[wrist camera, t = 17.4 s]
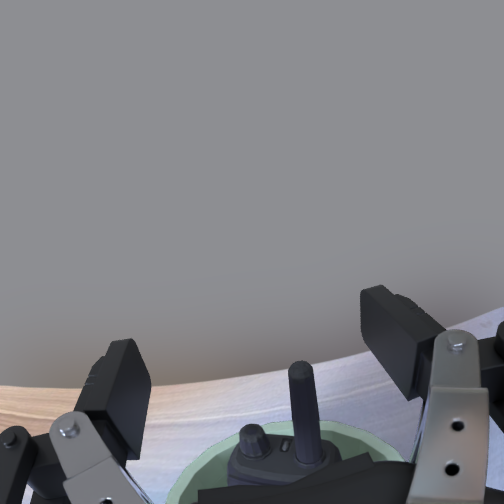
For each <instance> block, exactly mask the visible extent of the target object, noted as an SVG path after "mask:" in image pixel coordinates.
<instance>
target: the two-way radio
mask: <svg viewBox="0 0 504 504" xmlns="http://www.w3.org/2000/svg"><path fill="white" fill-rule="evenodd" d="M288 377H289V388H290V399H291V411H292V422H293V430H294V436H289V435H277V434H266V433H265V431H264V430H263V428H262V427H261V426H259V425H258V424H248V425H245V426H244V427H243V428H241V430H240V432H239V442H238V443H237V445H236V447H235V448H234V450H233V452H232V453H231V456H230V459H229V461H228V464H227V485H228V486H234V485H288V484H290V483H293V482H295V481H297V480H299V479H301V478H303V477H305V476H307V475H309V474H311V473H313V472H315V471H317V470H319V469H321V468H323V467H325V466H327V465H329V464H333V463H336V462H339V461H342V457H341V454H340V451H339V449H338V447H336V446H335V445H334V444H333V443H332V442H331V441H329V440H324V439H321V432H320V420H319V411H318V404H317V396H316V389H315V381H314V374H313V367H312V366H311V365H310V364H309V363H307V362H306V361H297V362H295V363H293V364H292V365H291V367H290V368H289V370H288Z"/></svg>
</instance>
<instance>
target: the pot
mask: <svg viewBox="0 0 504 504" xmlns="http://www.w3.org/2000/svg"><path fill="white" fill-rule="evenodd" d="M261 427H262V428H263V430H264V431H265V433H266V434H277V435H289V436H294V430H293V422H292V421H282V422H272V423H268V424H265V425H261ZM320 432H321V439H324V440H329V441H331V442H332V443H333V444H334V445H335V446H336V447H338V449H339V451H340V454H341V457H342V460H345V459H348V458H351V457H354V456H357V455H360V454H363V453H366V452H369V454H370V456H371V458H372V460H373V462H374V461H386V460H392V461H404V462H406V461H405V460H404V459H403V458H402V457H401V455H400V454H399V453H398V452H397V450H396V449H395V448H394V447H392V446H391V445H389V444H387V443H386V442H384V441H382V440H381V439H379V438H378V437H376V436H374V435H373V434H371V433H370V432H367V431H365V430H362V429H359V428H355V427H352V426H349V425H345V424H342V423H339V422H334V421H321V420H320ZM238 442H239V433H236V434H234V435H232V436H231V437H229V438H227V439H225V440H223V441H221V442H219V443H217V444H215V445H213V446H211V447H210V448H208V449H207V450H206V451H205V452H204V453H202V454H201V455H200V456H199V457H198V458H197V459H195V460H194V461H193V462H192V463H191V464H190V465H188V466H187V467H186V468H185V469H184V471H183V472H182V474H181V475H180V477H179V478H178V480H177V481H176V483H175V484H174V486H173V487H172V489H171V490H170V492H169V493H168V495H167V499H166V503H165V504H191V503H193V502H196V501H198V490H200V489H210V488H219V487H227V486H228V485H227V464H228V461H229V459H230V456H231V453H232V452H233V450H234V448H235V447H236V445H237V443H238Z"/></svg>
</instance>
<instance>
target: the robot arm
mask: <svg viewBox="0 0 504 504" xmlns="http://www.w3.org/2000/svg"><path fill="white" fill-rule="evenodd" d="M360 307H361V308H360V310H361V332H362V337H363V340H364V341H365V343H366V345H367V346H368V347H369V349H370V350H371V352H372V353H373V354H374V356H375V357H376V358H377V360H378V361H379V362H380V364H381V365H382V366H383V368H384V369H385V370H386V372H387V373H388V374H389V376H390V377H391V378H392V380H393V381H394V383H395V384H396V385H397V387H398V388H399V389H400V391H401V392H402V394H403V395H404V396H405V398H406V399H407V400H408V401H410V400H412V399H415V398H417V397H419V396H420V397H421V398H422V399H423V403H422V407H421V412H420V417H419V422H418V427H417V432H416V436H415V441H414V445H413V449H412V453H411V456H410V460H409V462H404V461H392V460H386V461H374V462H373V460H372V458H371V456H370V454H369V452H366V453H363V454H360V455H357V456H354V457H351V458H348V459H345V460H342V461H339V462H336V463H333V464H329V465H327V466H325V467H323V468H321V469H319V470H317V471H315V472H313V473H311V474H309V475H307V476H305V477H303V478H301V479H299V480H297V481H295V482H293V483H290V484H288V485H234V486H227V487H219V488H210V489H200V490H198V501H196V502H193V503H191V504H504V491H501V490H497V489H493V488H489V487H486V476H487V465H488V450H489V415H490V416H491V417H492V419H493V420H494V421H495V423H496V424H497V425H498V426H499V428H500V429H501V430H502V432H503V433H504V321H503V322H501V323H500V324H499V326H498V329H497V333H496V337H491V338H486V339H481V340H477V339H476V338H475V336H473V335H472V334H471V333H469V332H466V331H463V330H446V329H445V328H443V327H442V326H441V325H440V324H439V323H438V322H437V321H435V320H434V319H433V318H432V317H431V316H430V315H428V314H427V313H425V312H424V310H422V309H421V308H420V307H418V306H417V305H416V304H415V303H414V302H413V301H411V299H409V298H407V297H404V296H401V295H399V294H396V295H394V294H392V293H391V292H390V291H389V290H388V289H386V287H384V286H383V285H378V286H374V287H371V288H367V289H363V290H362V291H361V294H360ZM88 376H89V378H87V380H86V382H85V386H84V387H83V389H82V391H81V394H80V396H79V398H78V401H77V403H76V406H75V408H74V411H73V412H68V413H66V414H63V415H62V416H60V417H59V418H57V419H56V420H55V421H54V423H53V424H52V426H51V428H50V431H49V433H46V434H42V435H38V436H34V437H32V436H31V435H30V434H29V433H28V431H27V430H26V429H25V428H24V427H22V426H12V427H9V428H7V429H6V430H4V431H3V432H2V433H1V434H0V504H22V499H23V495H24V491H25V488H26V485H27V484H28V485H29V486H30V487H31V488H32V489H33V490H34V491H33V495H32V498H31V502H30V504H154V503H153V502H152V501H151V500H150V498H149V497H148V496H147V495H146V493H145V492H144V491H143V490H142V488H141V487H140V486H139V485H138V483H137V482H136V481H135V479H134V478H133V477H132V476H131V474H130V473H129V471H128V470H127V469H126V468H125V466H126V461H127V460H139V459H140V452H141V446H142V439H143V433H144V427H145V421H146V415H147V409H148V404H149V398H150V393H151V379H150V376H149V373H148V370H147V368H146V366H145V363H144V361H143V359H142V357H141V354H140V352H139V350H138V347H137V345H136V343H135V341H134V340H133V339H124V340H118V341H112V342H111V344H110V346H109V348H108V351H107V353H106V355H105V356H102V357H101V358H100V359H99V360H98V361H97V362H96V363H95V364H94V365H93V366H92V369H91V371H90V373H89V375H88Z"/></svg>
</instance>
